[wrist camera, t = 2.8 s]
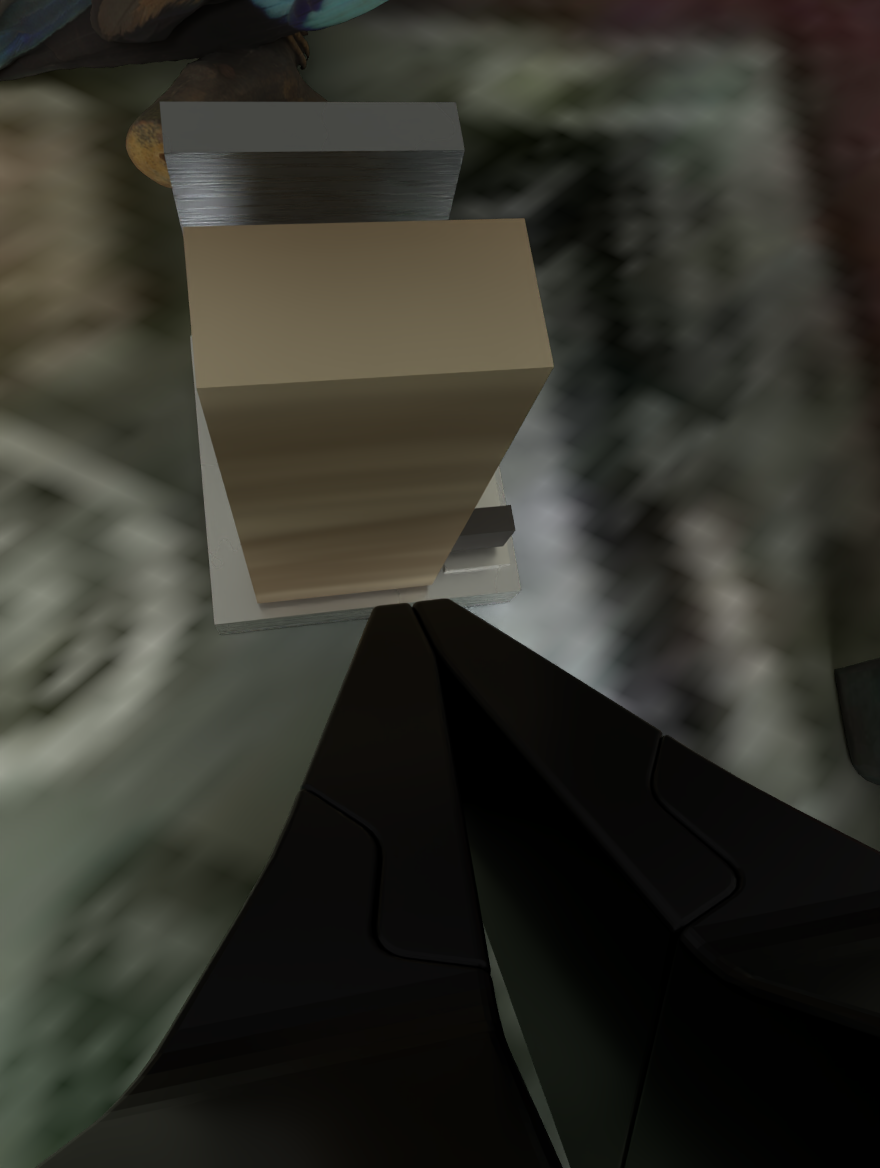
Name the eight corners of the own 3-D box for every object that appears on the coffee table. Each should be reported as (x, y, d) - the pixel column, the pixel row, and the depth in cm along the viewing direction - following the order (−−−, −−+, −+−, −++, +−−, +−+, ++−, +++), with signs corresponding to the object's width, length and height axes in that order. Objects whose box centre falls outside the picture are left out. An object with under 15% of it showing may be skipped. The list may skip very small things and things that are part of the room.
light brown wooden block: (506, 576, 19) (696, 358, 10) (257, 603, 18) (195, 387, 9) (489, 478, 20) (653, 180, 10) (247, 499, 19) (179, 188, 9)
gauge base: (509, 602, 21) (629, 481, 13) (220, 634, 19) (157, 523, 12) (465, 346, 22) (548, 102, 15) (196, 361, 21) (128, 101, 13)
